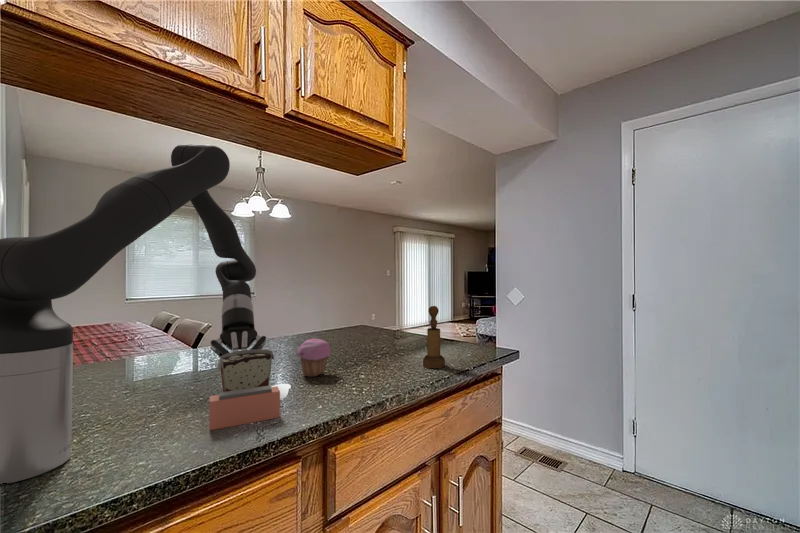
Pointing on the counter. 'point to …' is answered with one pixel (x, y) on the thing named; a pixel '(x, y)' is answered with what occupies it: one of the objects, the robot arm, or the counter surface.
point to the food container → (245, 369)
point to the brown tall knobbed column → (433, 343)
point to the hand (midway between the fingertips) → (240, 374)
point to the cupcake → (314, 356)
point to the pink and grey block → (244, 406)
